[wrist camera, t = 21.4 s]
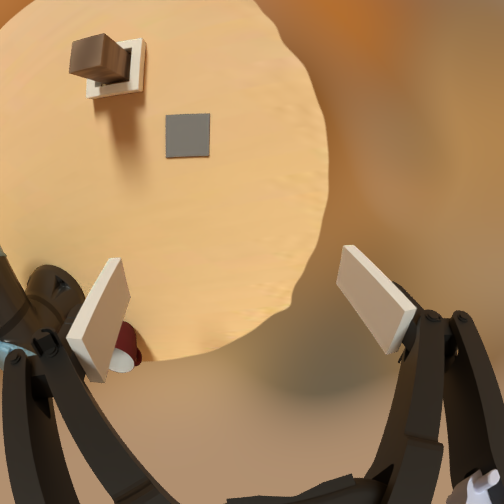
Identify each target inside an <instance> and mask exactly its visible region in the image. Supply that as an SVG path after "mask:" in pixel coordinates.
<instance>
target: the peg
mask: <svg viewBox="0 0 504 504" xmlns="http://www.w3.org/2000/svg"><path fill="white" fill-rule="evenodd" d="M130 66H131V55H130V54H129V53H128V52H127V51H125V50H124V49H123V48H122V47H121V46H119V45H118V44H117V43H116V42H115V41H113V40H112V39H111V38H110V37H108V36H107V35H106V34H105V33H103V34H99V35H95V36H91V37H88V38H84V39H81V40H77V41H74V42H73V43H72V50H71V57H70V67H69V73H70V74H74V75H77V76H80V77H84V78H87V79H90V80H93V81H96V82H99V83H102V84H110V83H116V82H122V81H129V80H130Z"/></svg>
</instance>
